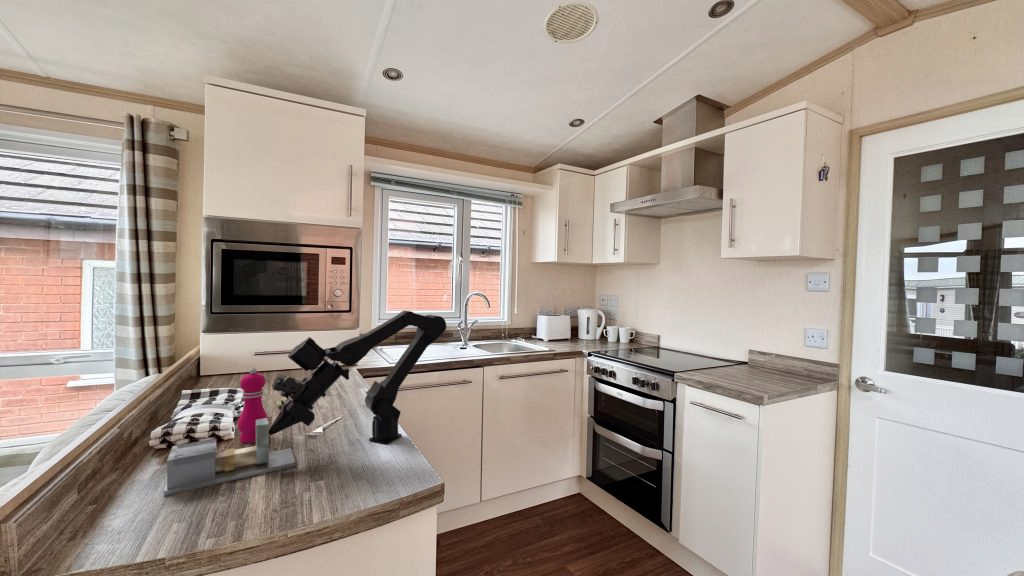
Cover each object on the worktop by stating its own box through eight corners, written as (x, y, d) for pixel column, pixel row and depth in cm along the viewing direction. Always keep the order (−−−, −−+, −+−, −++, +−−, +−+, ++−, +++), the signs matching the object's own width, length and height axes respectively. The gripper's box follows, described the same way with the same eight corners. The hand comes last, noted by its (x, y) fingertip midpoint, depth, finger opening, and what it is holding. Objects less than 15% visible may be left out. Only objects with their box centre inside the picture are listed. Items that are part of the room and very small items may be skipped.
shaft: (267, 455, 100) (267, 418, 100) (268, 462, 96) (268, 423, 95) (187, 471, 91) (187, 430, 91) (185, 480, 87) (184, 437, 87)
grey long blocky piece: (290, 451, 105) (290, 424, 105) (295, 466, 97) (295, 437, 96) (170, 476, 91) (169, 445, 91) (163, 496, 83) (163, 462, 83)
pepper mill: (253, 444, 109) (253, 371, 109) (231, 442, 111) (230, 370, 110) (274, 435, 116) (273, 365, 116) (253, 433, 118) (252, 364, 118)
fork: (348, 418, 133) (349, 412, 133) (312, 440, 114) (312, 433, 114) (339, 417, 134) (339, 411, 134) (301, 439, 114) (301, 432, 114)
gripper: (290, 356, 108) (240, 404, 102) (299, 369, 93) (241, 426, 87) (322, 382, 113) (276, 429, 107) (335, 398, 97) (283, 454, 91)
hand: (269, 433), depth 98 cm, fingers closed, pressing on shaft
